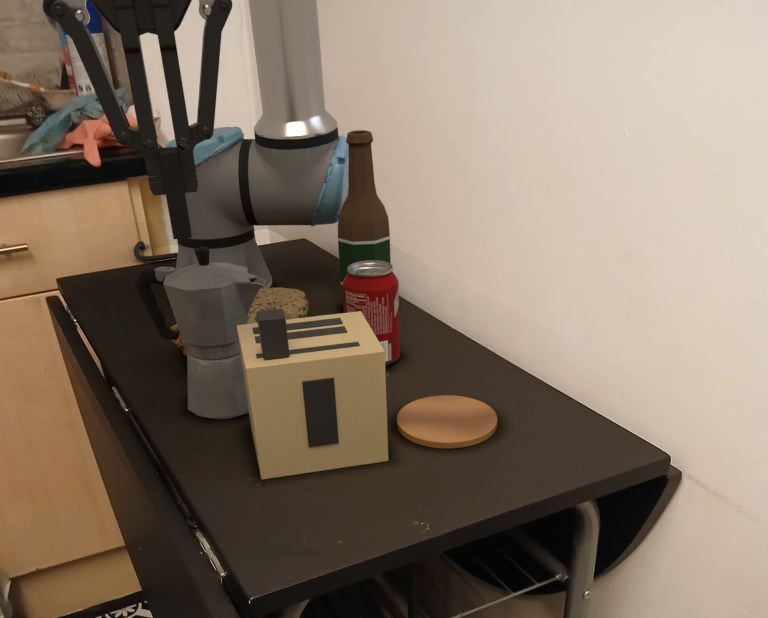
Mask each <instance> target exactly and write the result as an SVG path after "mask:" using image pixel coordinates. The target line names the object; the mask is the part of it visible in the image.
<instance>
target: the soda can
mask: <svg viewBox="0 0 768 618" xmlns="http://www.w3.org/2000/svg"><path fill="white" fill-rule="evenodd" d="M393 270H394V266H393V264H392V263H391V264H390V263H388V262H385V261H378V260H367V261H360V262H355V263H353V264H351V265H349V266H348V267H347V272H348V274H347V276H346V277H345V279H344V281H343V296H344V312H345V313H349V312H358V311H361V312H362V314H363V316H364V317H365V319H366V321H367V322H368V324H369V326H370V327H371V329H372V331H373V332H374V334H375V336H376V337H377V339H378V341H379V343H380V344H381V346H382V348H383V349H384V351H385V367H387V366H390V365H391V364H392V363H393V364H394V363H395V362H396V361H397V360H398V359H399V358H400V357H401V339H400V338H401V337H400V336H401V334H400V333H401V332H400V290H399V279H398V277H397V276H396V275H395V273H394V272H393ZM344 312H343V313H344Z"/></svg>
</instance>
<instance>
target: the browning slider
mask: <svg viewBox="0 0 768 618" xmlns="http://www.w3.org/2000/svg"><path fill="white" fill-rule="evenodd" d="M257 320H258V328H259V336H260V344H261V350H262V354H263V358H264V360H265V359H274V358H282V357H289V356H290V355H289V345H288V336H287V327H286V318H285V315H284V312H283V309H275V310H266V311H257Z"/></svg>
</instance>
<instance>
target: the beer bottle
mask: <svg viewBox="0 0 768 618" xmlns="http://www.w3.org/2000/svg"><path fill="white" fill-rule="evenodd" d="M346 137H347V139H346V143H348V144H349V187H348V195H347V198H346V200H345V202H344V204H343V206H342V208H341V212H340V216H339V220H338V222H337V248H338V264H339V265H338V266H339V277H340V278H339V280H340V294H341V306H342V313H345V312H344V296H343V281H344V279H345V277H346V276H347V274H348V272H347V267H348V266H349V265H351V264H353V263H355V262H360V261H367V260H378V261H385V262H388V263H390V264H392V263H391V262H392V261H391V233H390V221H389V216H388V213H387V209H386V206H385V205H384V203H383V202H382V200H381V199H380V197H379V195H378V193H377V188H376V183H375V173H374V172H375V171H374V160H373V151H372V149H373V148H372V143H373V142H374V137H373V134H372V131H370V130H365V129H360V130H358V129H357V130H351V131H349V132H347V135H346Z"/></svg>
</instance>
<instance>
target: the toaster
mask: <svg viewBox="0 0 768 618" xmlns="http://www.w3.org/2000/svg"><path fill="white" fill-rule="evenodd" d="M286 327H287V336H288V345H289V355H290V356H289V357H282V358H274V359H265V360H264V358H263V354H262V350H261V344H260V336H259V328H258V323H253V324H244V325H237V333H238V340H239V347H240V354H241V361H242V368H243V375H244V382H245V389H246V395H247V402H248V409H249V413H248V414H249V415H248V416H249V422H250V429H251V434H252V440H253V444H254V450H255V455H256V459H257V464H258V469H259V474H260V480H262V481H263V480H269V479H276V478H282V477H290V476H295V475H296V476H297V475H303V474H309V473H310V474H311V473H316V472H317V473H318V472H323V471H329V470H330V471H331V470H337V469H342V468H343V469H344V468H350V467H357V466H364V465H365V466H366V465H371V464H378V463H384V462H389V437H388V435H389V434H388V407H387V405H388V404H387V378H386V377H387V375H386V366H385V351H384V349H383V348H382V346H381V344H380V343H379V341H378V339H377V337H376V336H375V334H374V332H373V331H372V329H371V327H370V326H369V324H368V322H367V321H366V319H365V317H364V316H363V314H362V312H361V311H358V312H349V313H344V312H341V313H333V314H322V315H316V316H306V317H305V318H296V319H288V320H286Z"/></svg>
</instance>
